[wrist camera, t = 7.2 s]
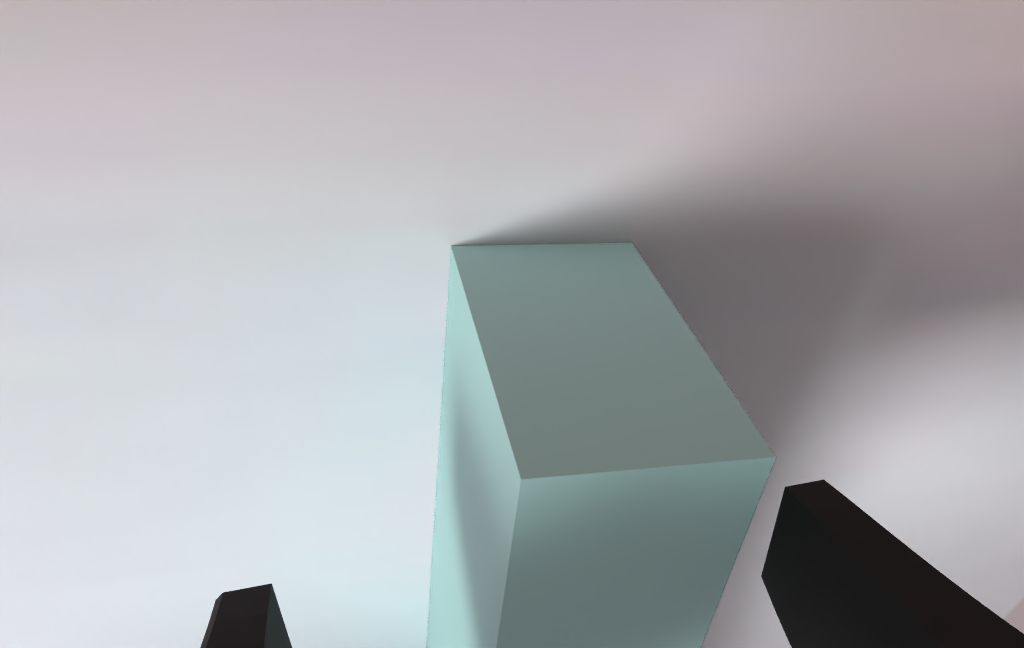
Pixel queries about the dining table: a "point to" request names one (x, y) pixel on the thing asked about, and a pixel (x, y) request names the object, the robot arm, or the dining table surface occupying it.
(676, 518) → the mint green rectangular block
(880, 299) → the dining table surface
